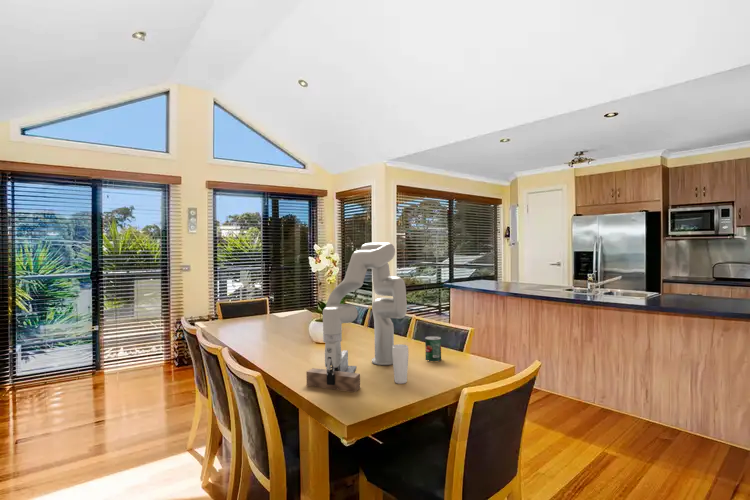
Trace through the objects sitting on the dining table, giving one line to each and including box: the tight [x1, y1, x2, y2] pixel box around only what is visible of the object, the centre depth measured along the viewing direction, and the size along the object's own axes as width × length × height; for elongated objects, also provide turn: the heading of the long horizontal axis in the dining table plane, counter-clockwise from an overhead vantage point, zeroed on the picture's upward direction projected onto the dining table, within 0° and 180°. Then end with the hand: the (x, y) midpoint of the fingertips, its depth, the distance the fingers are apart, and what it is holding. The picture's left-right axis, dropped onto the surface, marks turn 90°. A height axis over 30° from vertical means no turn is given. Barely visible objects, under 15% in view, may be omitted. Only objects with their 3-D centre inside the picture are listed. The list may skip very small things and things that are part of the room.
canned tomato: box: [424, 335, 442, 362], centre depth 193 cm, size 8×8×11 cm
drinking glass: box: [392, 343, 409, 385], centre depth 161 cm, size 7×7×15 cm
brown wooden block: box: [305, 367, 361, 393], centre depth 157 cm, size 22×5×6 cm, turn 68°
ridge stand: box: [339, 349, 357, 373], centre depth 172 cm, size 10×18×8 cm, turn 172°
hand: (333, 381), depth 157 cm, fingers open, 6 cm apart
